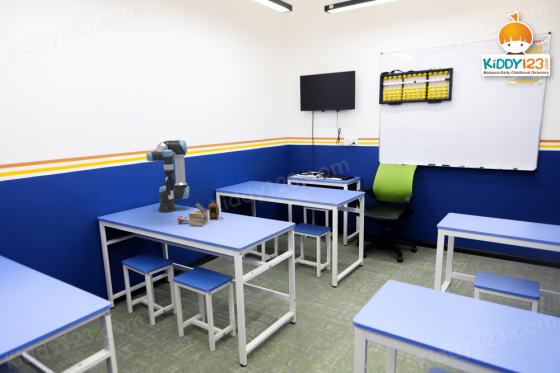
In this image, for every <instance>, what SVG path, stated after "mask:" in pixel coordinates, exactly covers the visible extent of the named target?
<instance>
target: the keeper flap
mask: <svg viewBox="0 0 560 373" xmlns="http://www.w3.org/2000/svg"><path fill="white" fill-rule="evenodd" d="M195 207H196V208H197V209H199V210H200V211H205V209H206V208H205V207H203V205H201V204H200V203H199V202H198V203H196V204H195Z"/></svg>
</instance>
